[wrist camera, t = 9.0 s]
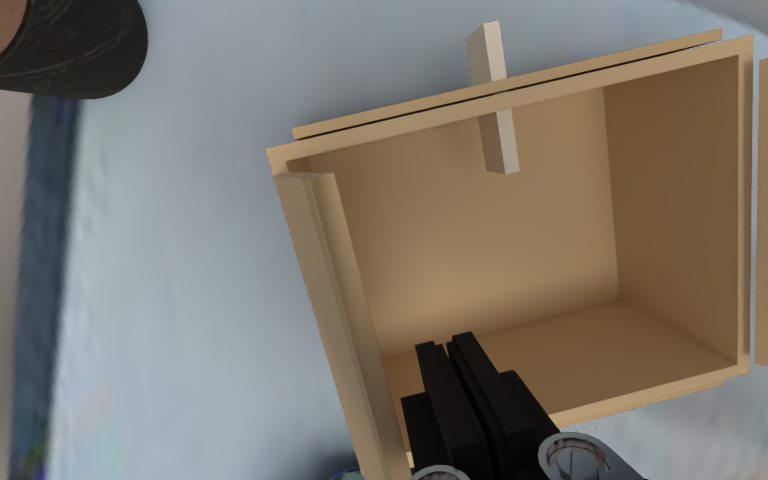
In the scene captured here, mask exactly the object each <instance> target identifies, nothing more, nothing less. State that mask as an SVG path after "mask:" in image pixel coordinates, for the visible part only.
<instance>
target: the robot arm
mask: <svg viewBox="0 0 768 480" xmlns="http://www.w3.org/2000/svg"><path fill="white" fill-rule="evenodd" d="M446 346H447V351H448V356H449V358H448V356H447V353H446V351H445V349H444V347H443V345H442V344H438V345H435V343H434V341H429V342H425V343H421V344H416V345H415V349H416V354H417V358H418V363H419V367H420V372H421V376H422V380H423V385H424V389H425V392H421V393H417V394H413V395H410V396H406V397H402V398H400V400H401V405H402V409H403V414H404V419H405V424H406V429H407V434H408V439H409V444H410V448H411V453H412V458H413V463H414V468H415V474H414V475H413V476H412V477H411V478H410V479H409V480H648V479H645V478H643V477H642V476H641V475H640V474H639V473H637V472H636V471H635V470H634V469H633V468H632V467H631V466H630V465H628V464H627V463H626V462H625V461H624V460H623V459H622V458H621V457H620V456H618V455H617V454H616V453H615V452H614V451H613V450H612V449H611V448H610V447H608V446H607V445H606V444H604V443H603V442H601V441H600V440H599V439H597V438H594V437H592V436H589V435H587V434H582V433H577V432H562V433H561V432H560V431H559V429H558V428H557V426H556V425H555V424H554V422H553V421H552V420H551V418H550V417H549V416H548V414H547V413H546V412H545V410H544V409H543V408H542V406H541V405H540V404H539V402H538V401H537V399H536V398H535V397H534V395H533V394H532V393H531V391H530V390H529V389H528V387H527V386H526V385H525V383H524V382H523V381H522V379H521V378H520V377H519V375H518V374H517V373H516V372H515V371H514V370H509V371H505V372H501V373H498V371H497V370H496V368H495V366H494V365H493V363H492V362H491V360H490V359H489V357H488V356H487V354H486V353H485V351H484V350H483V348H482V347H481V345H480V344H479V342H478V341H477V339H476V338H475V336H474V335H473V333H472V332H471V331H469V332H465V333H461V334H457V335H453V336H452V341H450V342H446Z"/></svg>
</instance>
